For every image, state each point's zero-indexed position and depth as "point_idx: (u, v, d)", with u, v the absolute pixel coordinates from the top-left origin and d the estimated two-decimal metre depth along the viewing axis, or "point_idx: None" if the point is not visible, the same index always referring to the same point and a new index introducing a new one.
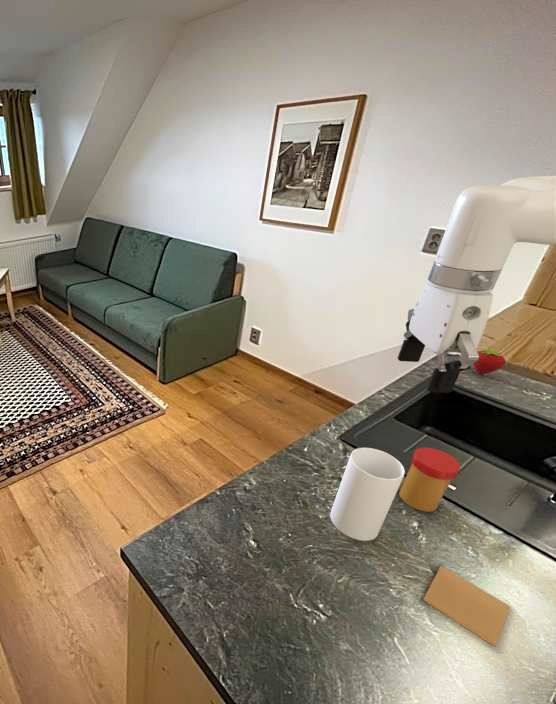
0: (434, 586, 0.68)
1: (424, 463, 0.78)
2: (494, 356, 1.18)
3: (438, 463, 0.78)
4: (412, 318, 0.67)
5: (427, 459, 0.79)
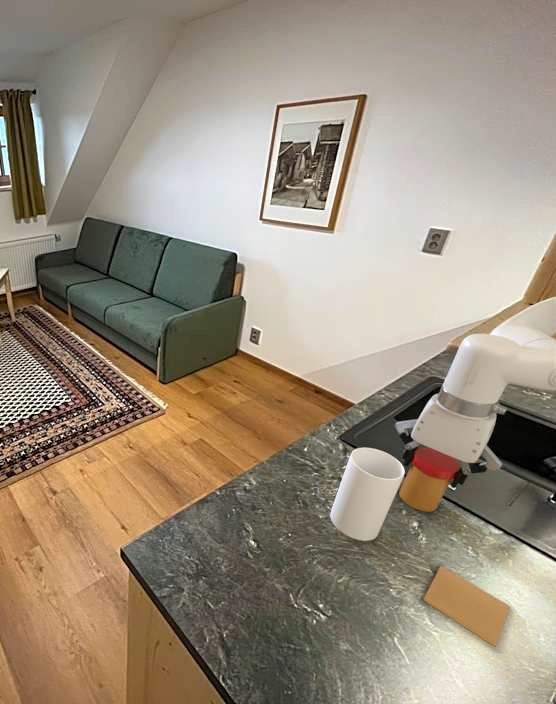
0: (434, 586, 0.68)
1: (424, 463, 0.78)
2: None
3: (438, 463, 0.78)
4: (418, 432, 0.78)
5: (427, 459, 0.79)
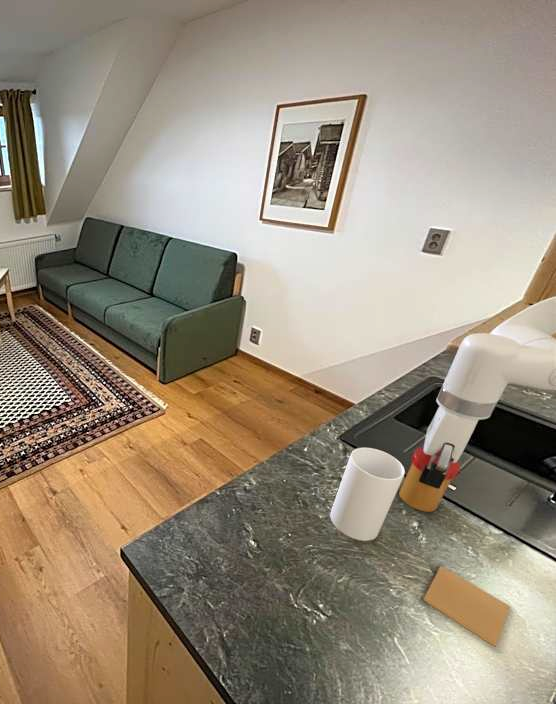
0: (434, 586, 0.68)
1: (457, 469, 0.76)
2: None
3: None
4: (461, 453, 0.72)
5: None
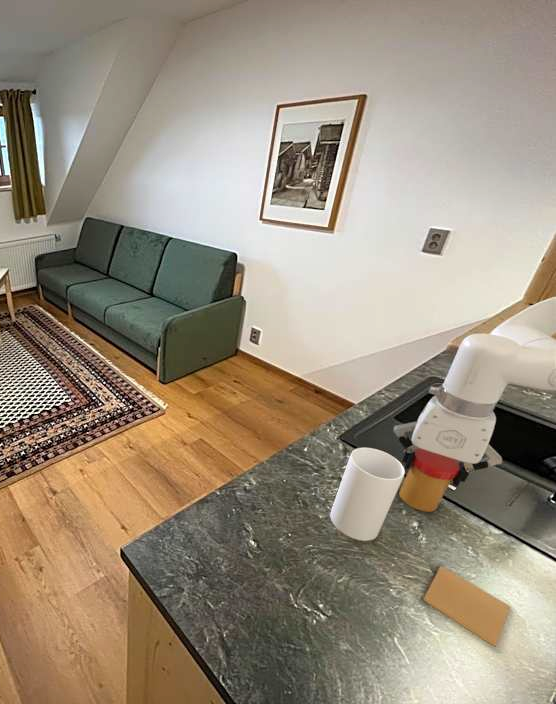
0: (434, 586, 0.68)
1: None
2: None
3: (433, 455, 0.80)
4: None
5: (444, 458, 0.79)
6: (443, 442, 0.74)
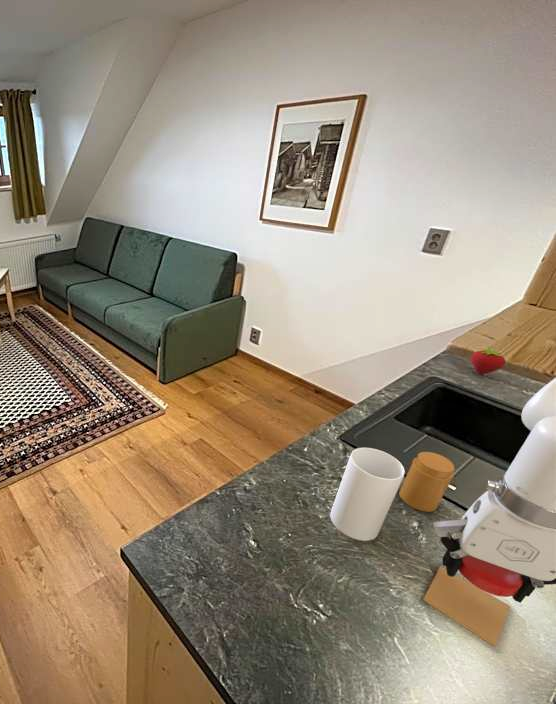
0: (434, 586, 0.68)
1: None
2: (494, 356, 1.18)
3: None
4: None
5: None
6: (506, 553, 0.56)
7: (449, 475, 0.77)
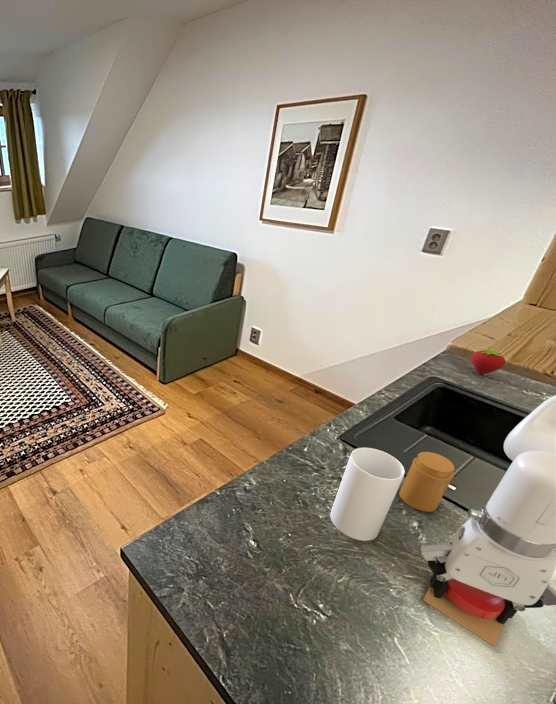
0: None
1: None
2: (494, 356, 1.18)
3: None
4: None
5: None
6: (488, 578, 0.59)
7: (449, 475, 0.77)
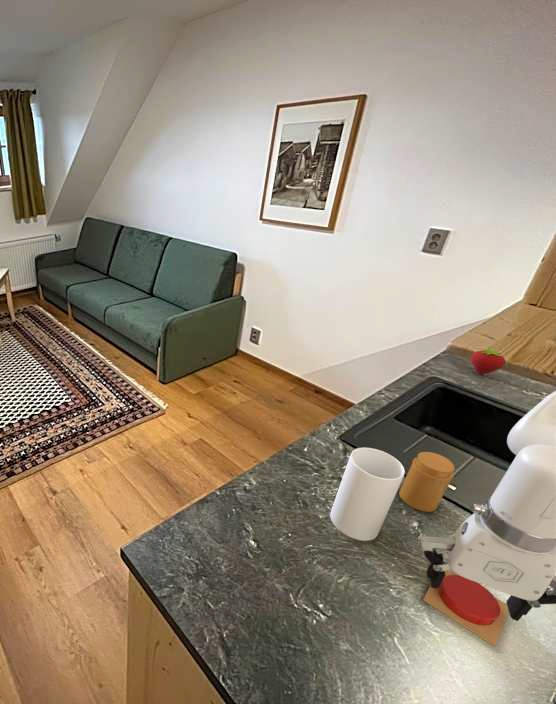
0: None
1: (476, 583, 0.66)
2: (494, 356, 1.18)
3: (465, 588, 0.65)
4: None
5: (478, 592, 0.65)
6: (492, 573, 0.58)
7: (449, 475, 0.77)
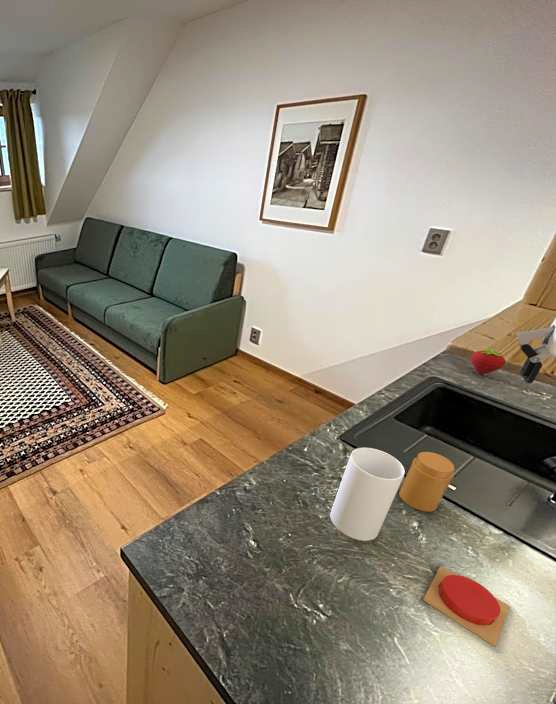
0: (434, 586, 0.68)
1: (476, 583, 0.66)
2: (494, 356, 1.18)
3: (465, 588, 0.65)
4: None
5: (478, 592, 0.65)
6: None
7: (449, 475, 0.77)
